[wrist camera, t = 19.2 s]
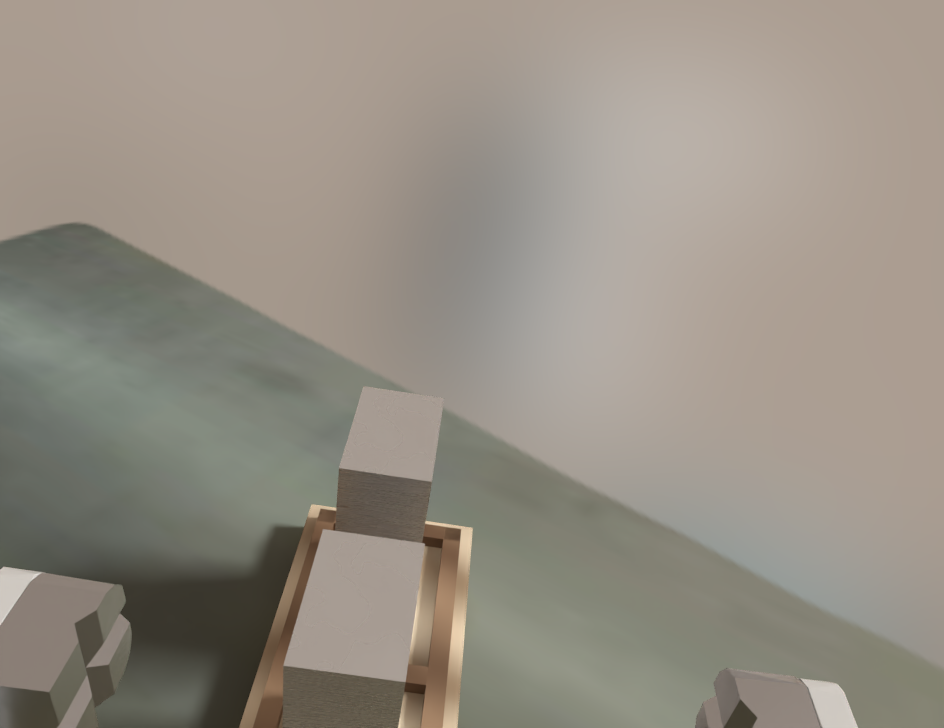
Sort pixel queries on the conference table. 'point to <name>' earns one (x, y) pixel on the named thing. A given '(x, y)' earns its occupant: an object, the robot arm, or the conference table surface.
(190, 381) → the conference table surface
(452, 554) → the wooden compartment tray
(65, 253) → the conference table surface
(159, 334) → the conference table surface
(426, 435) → the billet
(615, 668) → the conference table surface
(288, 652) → the aluminium billet
